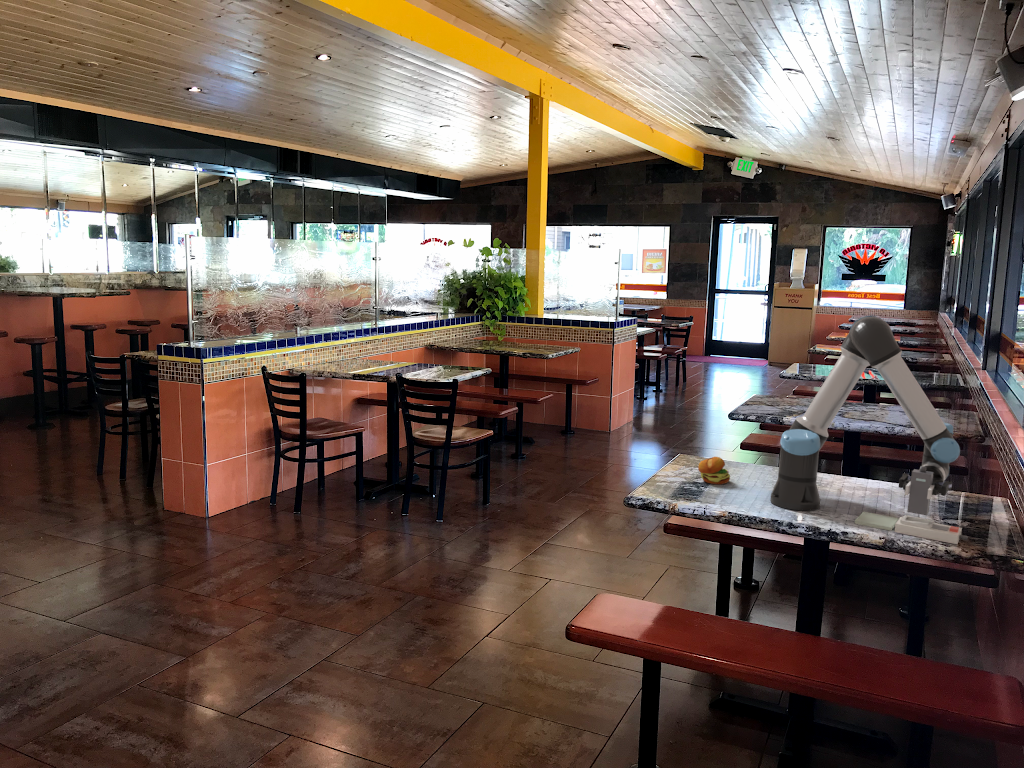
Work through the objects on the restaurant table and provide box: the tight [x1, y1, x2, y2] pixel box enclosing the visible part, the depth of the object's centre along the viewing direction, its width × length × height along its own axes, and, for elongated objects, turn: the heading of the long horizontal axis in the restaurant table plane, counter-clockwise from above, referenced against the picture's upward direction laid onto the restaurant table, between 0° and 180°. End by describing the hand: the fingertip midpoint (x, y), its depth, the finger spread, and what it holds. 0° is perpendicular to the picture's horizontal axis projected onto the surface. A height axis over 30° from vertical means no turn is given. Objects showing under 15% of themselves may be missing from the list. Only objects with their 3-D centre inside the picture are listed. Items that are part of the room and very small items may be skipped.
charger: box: [907, 465, 933, 516], centre depth 228 cm, size 5×4×14 cm
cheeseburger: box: [697, 456, 731, 485], centre depth 279 cm, size 10×11×10 cm
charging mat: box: [854, 511, 900, 531], centre depth 237 cm, size 10×12×1 cm
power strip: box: [894, 514, 969, 545], centre depth 227 cm, size 18×9×4 cm, turn 55°
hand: (917, 492), depth 224 cm, fingers closed on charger, 5 cm apart
